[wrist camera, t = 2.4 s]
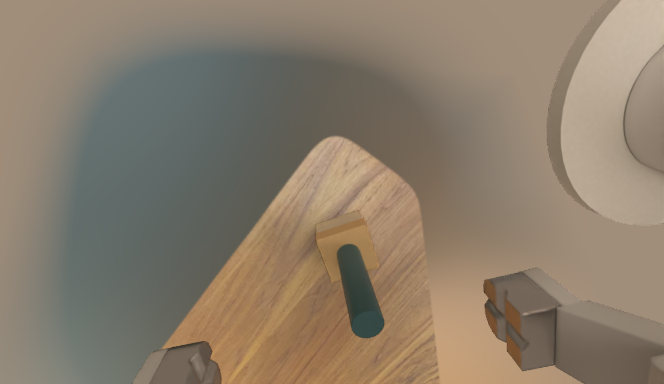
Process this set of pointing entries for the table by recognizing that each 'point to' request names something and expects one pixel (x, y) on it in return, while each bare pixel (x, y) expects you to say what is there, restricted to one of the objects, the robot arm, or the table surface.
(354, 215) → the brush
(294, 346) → the table surface
